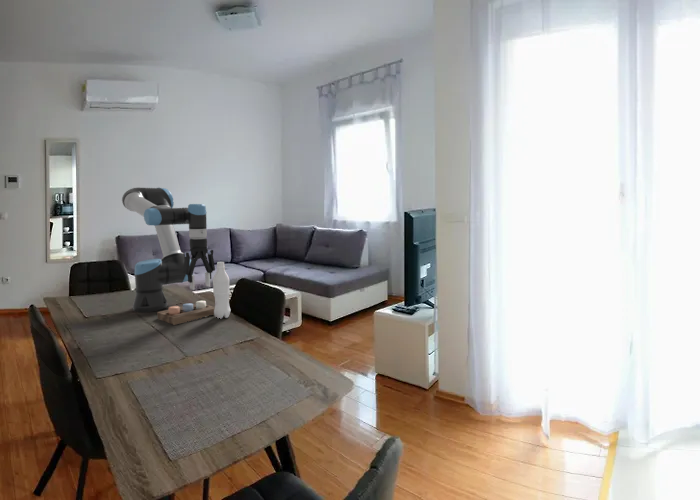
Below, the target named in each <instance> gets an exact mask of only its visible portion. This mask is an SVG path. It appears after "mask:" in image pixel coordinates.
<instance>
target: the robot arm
mask: <svg viewBox="0 0 700 500" xmlns="http://www.w3.org/2000/svg"><path fill="white" fill-rule="evenodd" d="M121 201H122V205H123V207H124V208H125V209H126V210H128V211H131V212H136V213H137V214H139V215H140V216H142V217H143V219H144V222H145V224H146V225H148V226H154V228H155V231H156V235H157V239H158V241H159V245H160V249H161V252H162V255H163V256H162V257H161V258H150V259H144V260H140V261H138V262H136V264H135V265H134V273H133V274H134V282H135V283H134V284H135V296H134V299H133V303H132V311H133V312H136V313H150V312H151V313H152V312H159V311H163V310H164V309H166V308H168V301H167V298H166V296H165V293H164V291H163V290H164V289H163V287H164V286H165V285H174V284H180V283H181V284H182V283H186V282H188V283H189V290H192V291H195V289H196V288H195V287H196V286H195V274H194V270H195V267H196V264H197V262H198V260H199V259H200V260H201V261H202V263H203V267H204V268H205V269H204V270H206V271H205V273H204V277H205V278H204V280H205V282H204V283H205V287H208V288H211V280H212V273H213V272H214V271H215V270H216V268H215V267H216V266H215V260H214V250H213V249H208V239H207V237H208V234H207V233H208V230H207V229H208V228H207V227H208V225H207V208H206V205H205V204H204V203H189V204H188V205H187V207H174V205H175V204H174V197H173V194H172V193H171V191H170V190H169V189H167V188H164V187H163V188H162V187H133V188H132V187H131V188H130V189H127V190H126V191H125V192H124V194H123V195H122V198H121ZM175 225H188V237H189V240H188V241H189V251H186V252H185V251H184V252H182V250H181V247H180V245H179V239H178V237H177V233H176V231H175V228H174V226H175Z"/></svg>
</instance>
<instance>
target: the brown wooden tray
mask: <svg viewBox="0 0 700 500" xmlns="http://www.w3.org/2000/svg"><path fill="white" fill-rule="evenodd" d="M179 309H180V314H176V315H172V316H171V315H169V309H166V310H160V311H156V313H157V314H156V315H157V320H160V321H162V322H165V323H168V324H171V325H173V326H176V325H178V324H183V323H187V321H188V322H191V320H192V321H195V320H194V319H196V320H199V319H198V318H200V319H203V318H202V317H205V316H209V315H213V314H214V309H215V306H212V305H209V304H206V308H203V309H196V303H195V304H194V303H193V311H190V312H183V306H179ZM213 316H214V315H213ZM209 317H210V316H209ZM205 318H206V317H205Z"/></svg>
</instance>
